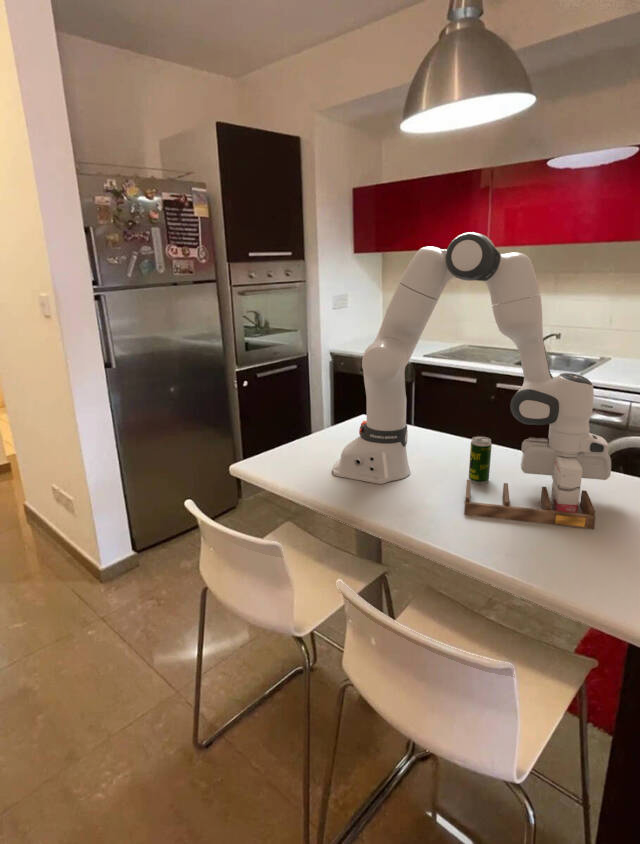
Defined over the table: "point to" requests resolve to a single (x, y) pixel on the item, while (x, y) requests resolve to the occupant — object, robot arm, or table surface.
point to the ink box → (566, 484)
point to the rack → (533, 510)
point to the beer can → (480, 460)
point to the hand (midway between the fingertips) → (561, 491)
